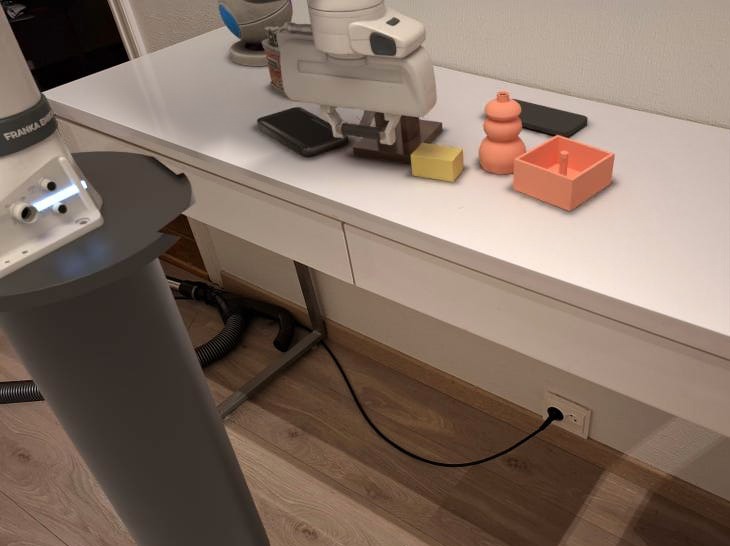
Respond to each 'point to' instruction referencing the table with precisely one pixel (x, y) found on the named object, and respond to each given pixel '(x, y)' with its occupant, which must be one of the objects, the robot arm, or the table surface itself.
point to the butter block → (437, 162)
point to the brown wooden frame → (399, 139)
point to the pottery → (542, 159)
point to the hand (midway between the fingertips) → (365, 139)
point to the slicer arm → (362, 127)
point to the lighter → (273, 59)
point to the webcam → (252, 26)
